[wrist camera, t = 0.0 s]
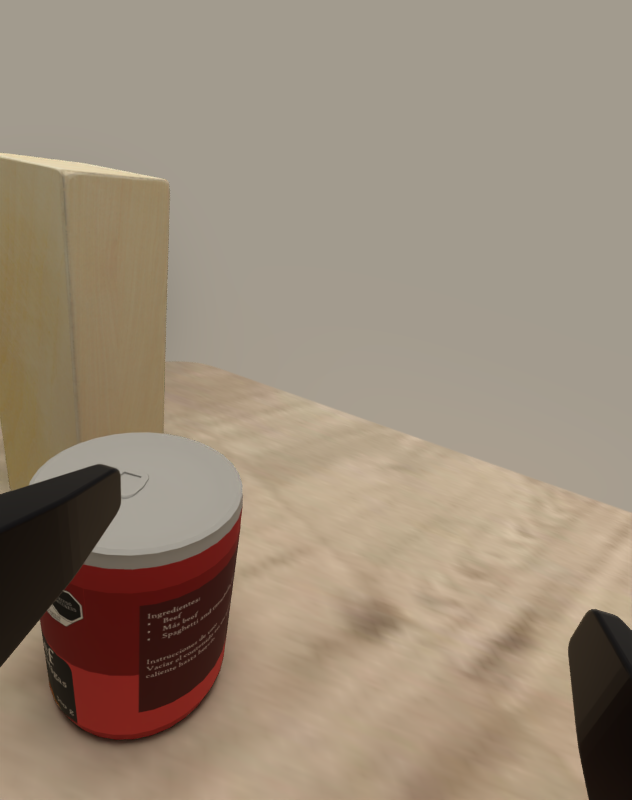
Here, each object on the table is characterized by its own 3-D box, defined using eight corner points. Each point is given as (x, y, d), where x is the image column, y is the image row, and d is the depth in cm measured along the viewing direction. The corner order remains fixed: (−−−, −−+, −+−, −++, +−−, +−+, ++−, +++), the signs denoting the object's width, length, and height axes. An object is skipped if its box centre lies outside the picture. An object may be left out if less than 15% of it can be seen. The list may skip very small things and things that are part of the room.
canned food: (82, 594, 26) (69, 422, 21) (228, 599, 27) (247, 438, 22) (16, 749, 19) (-26, 548, 14) (216, 746, 20) (240, 560, 15)
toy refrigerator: (90, 439, 38) (76, 158, 29) (165, 469, 37) (173, 179, 27) (0, 490, 32) (-56, 143, 22) (86, 530, 30) (62, 170, 21)
